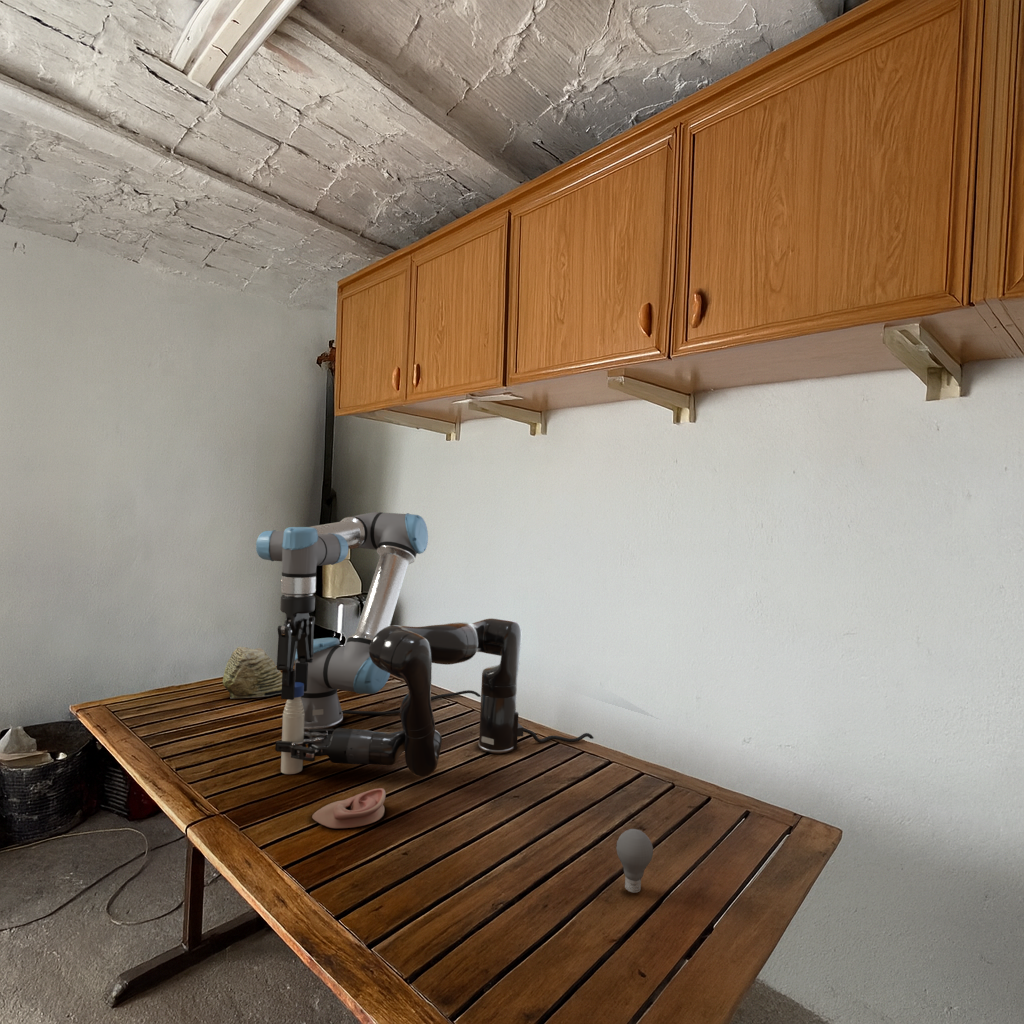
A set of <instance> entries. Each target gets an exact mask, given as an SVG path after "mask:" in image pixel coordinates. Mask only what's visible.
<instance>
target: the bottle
mask: <svg viewBox="0 0 1024 1024" xmlns="http://www.w3.org/2000/svg"><path fill="white" fill-rule="evenodd" d="M303 708H304V706H303V703H302V700H301V697H297V698H294V699H293V700H288V699H286V701H285V706H284V708H283V711H282V724H281V725H282V726H281V741H288V742H302V741H303V740H304V718H305V712H304V709H303ZM303 767H304V760H300V759H295V758H291V753H290V752H280V773H282V774H284V775H295V774H298V773H300V772H302V771H303Z"/></svg>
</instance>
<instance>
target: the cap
mask: <svg viewBox="0 0 1024 1024" xmlns="http://www.w3.org/2000/svg"><path fill="white" fill-rule="evenodd" d="M303 695H304V684H303V683H300V682H295V691H294V698H297V697H301V696H303Z"/></svg>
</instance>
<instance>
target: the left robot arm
mask: <svg viewBox="0 0 1024 1024" xmlns="http://www.w3.org/2000/svg"><path fill="white" fill-rule="evenodd" d="M255 542H256V543H255V550H256V554H257V556H258V557H259V558H261V559H262V560H265V561H271V562H281V563H282V564H281V565H282V568H281V579H280V583H281V587H280V592H281V594H282V595H281V596H280V608H279V609H280V612H282V613H283V614H285V618H284V624H283V625H278V626H277V637H278V639H277V653H276V655H277V656H276V668H277V670H280V672H281V673H282V693H280V695H281V697H280V699H281V700H293V699H294V691H295V682H300V683H303V684H304V695H303V696H301V700H302V703H303V706H304V708H303V709H304V712H305V718H304V732H308V730H309V729H336V728H338V727H339V726H340V725H342V723H343V722H344V715H367V716H371V715H372V716H389V715H397V714H400V709H396V710H389V711H387V710H386V711H372V710H371V711H369V710H343V709H342V706H341V702H340V699H339V695H338V691H345V692H351V693H356V694H358V695H363V694H366V695H373V694H376V693H378V692H380V690H382V689H383V688H384V687H385V685H386V684H387V683H388V681H389V678H390V676H391V674H390V673H388V672H386V671H384V670H381V669H380V668H378V667H377V666H376V665H375V664H374V663H373V662H372V660H371V658H370V655H369V647H370V643H371V641H372V639H373V638H374V636H375V635H376V634H377V633H378V632H379V631H381V630H382V629H384V628H386V627H388V626H391V624H392V621H393V616H394V613H395V610H396V607H397V605H398V604H397V603H398V600H399V597H400V594H401V590H402V587H403V583H404V580H405V577H406V573H407V570H408V567H409V565H411V564H413V563H414V562H415V560H416V557H417V555H420V554H423V553H424V552H426V550H427V547H428V544H429V543H428V542H429V532H428V526H427V524H426V521H425V519H424V518H423V517H422V516H421V515H419V514H415V513H414V514H413V513H409V512H408V513H398V512H397V513H396V512H381V511H375V512H374V511H373V512H367V513H361V514H357V515H356V514H355V515H352V516H347V517H344V518H342V519H341V520H340V521H336V522H331V523H325V524H319V525H317V524H316V525H312V526H289V527H286V528H285V529H284V530H275V529H273V530H264V531H262V532H261V533H260V534H259V535H258V537H257V539H256V541H255ZM355 549H366V550H374V551H376V553H377V555H378V556H379V559H378V561H377V564H376V567H375V571H374V574H373V577H372V580H371V584H370V586H369V589H368V593H367V595H366V599H365V602H364V605H363V608H362V611H361V614H360V617H359V621H358V624H357V627H356V629H355V633H353V634H351V635H350V636H348V637H347V639H346V642H345V645H340V644H341V641H340V639H339V638H337V637H321V638H314V635H315V634H314V632H315V623H316V622H315V621H316V617H315V616H312V615H310V613H312V612H314V611H315V609H316V596H315V595H314V594H315V593H316V591H317V567H320V566H321V567H322V566H329V565H330V566H334V565H336V564H340V563H342V562H343V561H344V560H345V559H346V558H347V556H348V554H349V550H355ZM464 694H465V695H466V694H472V695H475V696H476V697H478V698H481V693H478V692H477V691H475V690H470V689H468V690H461V691H456V692H451V693H442V694H436V695H431V701H432V700H436V699H440V698H447V697H455V696H460V695H464Z"/></svg>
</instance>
